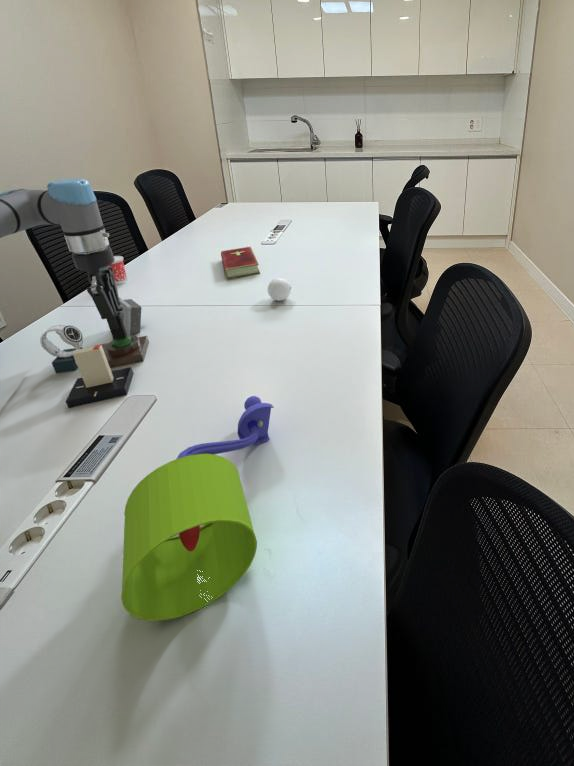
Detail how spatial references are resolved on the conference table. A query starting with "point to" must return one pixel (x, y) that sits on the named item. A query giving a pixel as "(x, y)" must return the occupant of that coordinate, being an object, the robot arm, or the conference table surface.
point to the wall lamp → (190, 527)
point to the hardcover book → (239, 262)
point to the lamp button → (122, 341)
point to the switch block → (126, 352)
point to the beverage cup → (118, 270)
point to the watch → (65, 357)
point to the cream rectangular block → (93, 366)
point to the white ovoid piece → (279, 289)
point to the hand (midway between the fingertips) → (120, 337)
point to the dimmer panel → (100, 389)
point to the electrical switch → (130, 316)
